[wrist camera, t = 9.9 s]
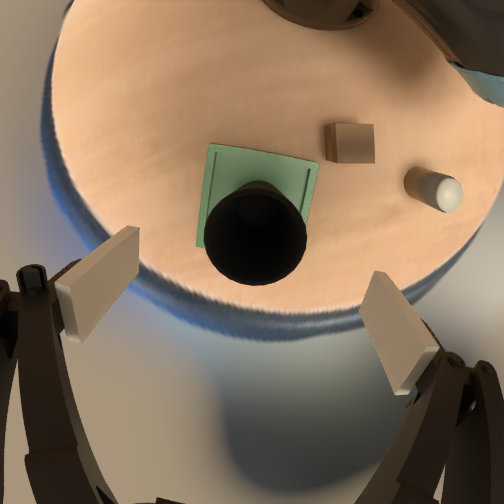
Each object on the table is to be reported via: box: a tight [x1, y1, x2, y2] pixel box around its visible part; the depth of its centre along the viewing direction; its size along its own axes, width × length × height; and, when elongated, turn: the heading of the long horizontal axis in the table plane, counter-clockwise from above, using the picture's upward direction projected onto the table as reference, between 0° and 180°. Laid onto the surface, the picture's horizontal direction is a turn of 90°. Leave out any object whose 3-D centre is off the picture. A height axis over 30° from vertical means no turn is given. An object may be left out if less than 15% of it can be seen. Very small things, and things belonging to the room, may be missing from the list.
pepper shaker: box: [404, 168, 463, 213], centre depth 27 cm, size 4×4×8 cm
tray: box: [196, 144, 319, 248], centre depth 32 cm, size 12×12×2 cm
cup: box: [204, 180, 307, 286], centre depth 26 cm, size 8×8×12 cm
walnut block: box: [325, 123, 375, 163], centre depth 27 cm, size 4×4×5 cm
